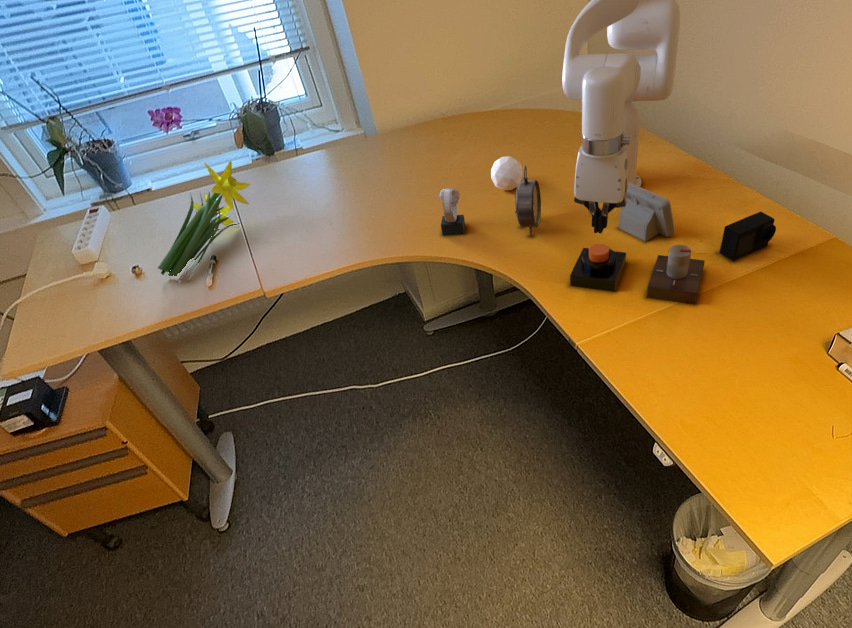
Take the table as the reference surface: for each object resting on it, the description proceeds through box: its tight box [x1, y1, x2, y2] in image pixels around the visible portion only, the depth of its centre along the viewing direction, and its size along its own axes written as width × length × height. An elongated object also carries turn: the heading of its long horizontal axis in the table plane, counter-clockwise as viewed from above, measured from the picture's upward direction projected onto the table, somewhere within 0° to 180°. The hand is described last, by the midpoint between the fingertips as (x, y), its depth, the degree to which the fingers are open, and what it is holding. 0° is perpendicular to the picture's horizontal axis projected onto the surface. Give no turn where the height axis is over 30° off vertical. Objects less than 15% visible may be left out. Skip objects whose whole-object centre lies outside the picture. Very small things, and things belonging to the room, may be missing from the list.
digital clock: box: [618, 182, 676, 242], centre depth 137 cm, size 16×9×11 cm, turn 26°
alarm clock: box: [514, 165, 542, 238], centre depth 141 cm, size 11×5×16 cm, turn 168°
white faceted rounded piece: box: [490, 155, 524, 191], centre depth 160 cm, size 9×9×12 cm
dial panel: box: [646, 254, 706, 305], centre depth 124 cm, size 12×10×3 cm
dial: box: [666, 244, 692, 279], centre depth 121 cm, size 4×4×6 cm
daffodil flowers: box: [157, 160, 251, 276], centre depth 151 cm, size 17×15×35 cm
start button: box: [588, 243, 610, 263], centre depth 126 cm, size 4×4×2 cm
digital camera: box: [719, 211, 777, 262], centre depth 128 cm, size 10×5×7 cm, turn 117°
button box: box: [569, 247, 627, 293], centre depth 128 cm, size 11×10×5 cm
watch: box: [438, 187, 466, 237], centre depth 145 cm, size 6×8×11 cm
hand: (599, 229), depth 121 cm, fingers closed
